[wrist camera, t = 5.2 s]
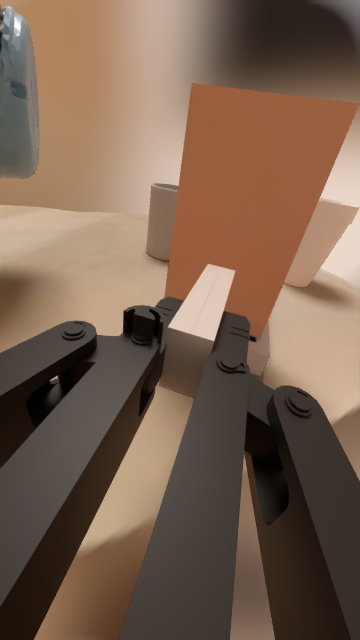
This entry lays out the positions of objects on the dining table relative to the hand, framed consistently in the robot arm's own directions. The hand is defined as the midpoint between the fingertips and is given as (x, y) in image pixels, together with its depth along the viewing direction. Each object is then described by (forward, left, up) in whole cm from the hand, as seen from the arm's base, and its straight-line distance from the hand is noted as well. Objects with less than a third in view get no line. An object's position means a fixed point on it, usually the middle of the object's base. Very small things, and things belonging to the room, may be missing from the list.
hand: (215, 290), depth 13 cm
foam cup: (+33, +7, -9) cm, 35 cm away
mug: (+20, +27, -9) cm, 35 cm away
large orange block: (+5, +3, -7) cm, 9 cm away
